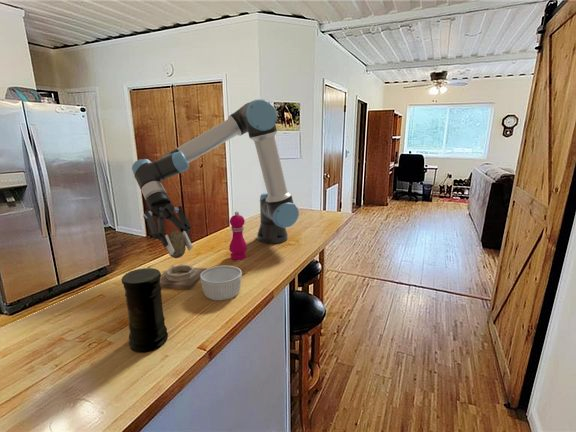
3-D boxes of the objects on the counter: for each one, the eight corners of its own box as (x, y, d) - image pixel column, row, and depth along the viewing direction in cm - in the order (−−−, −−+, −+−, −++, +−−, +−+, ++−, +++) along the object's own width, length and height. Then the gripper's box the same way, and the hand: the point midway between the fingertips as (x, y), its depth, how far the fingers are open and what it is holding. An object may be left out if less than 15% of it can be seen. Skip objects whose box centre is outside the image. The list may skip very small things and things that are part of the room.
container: (137, 331, 82) (128, 267, 78) (172, 329, 83) (166, 266, 79) (122, 354, 74) (112, 284, 69) (162, 352, 74) (154, 282, 70)
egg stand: (207, 272, 118) (206, 263, 117) (190, 289, 104) (189, 280, 104) (172, 269, 120) (171, 261, 119) (151, 286, 107) (150, 277, 106)
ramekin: (198, 287, 106) (197, 268, 104) (236, 280, 111) (236, 262, 110) (204, 306, 94) (203, 285, 93) (247, 298, 100) (246, 278, 98)
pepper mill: (243, 261, 128) (242, 214, 123) (227, 260, 129) (224, 213, 124) (249, 255, 135) (248, 209, 130) (233, 253, 136) (231, 209, 131)
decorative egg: (169, 262, 106) (166, 233, 104) (167, 256, 111) (165, 229, 109) (187, 259, 109) (185, 231, 106) (185, 253, 114) (182, 227, 111)
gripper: (177, 199, 123) (202, 249, 116) (126, 206, 109) (151, 263, 103) (183, 187, 118) (209, 239, 111) (131, 193, 105) (157, 252, 98)
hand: (181, 250), depth 107 cm, fingers closed on decorative egg, 6 cm apart
